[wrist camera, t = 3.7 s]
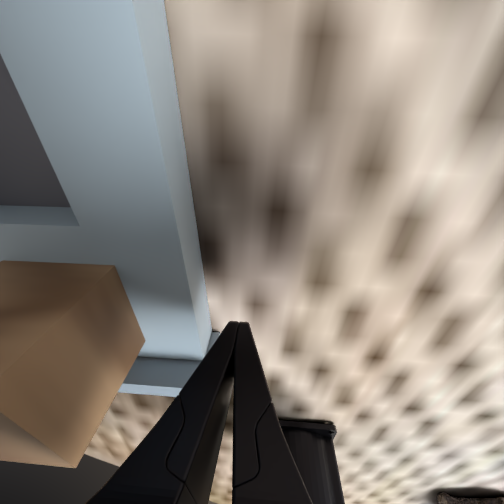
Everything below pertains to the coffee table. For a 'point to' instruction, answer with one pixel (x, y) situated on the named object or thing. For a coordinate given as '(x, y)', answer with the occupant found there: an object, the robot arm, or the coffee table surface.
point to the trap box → (104, 167)
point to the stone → (467, 500)
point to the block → (60, 356)
